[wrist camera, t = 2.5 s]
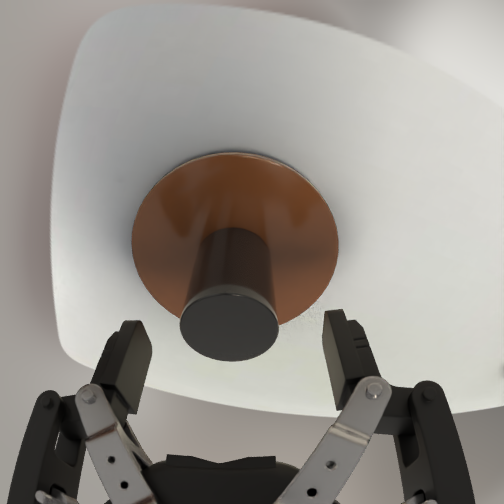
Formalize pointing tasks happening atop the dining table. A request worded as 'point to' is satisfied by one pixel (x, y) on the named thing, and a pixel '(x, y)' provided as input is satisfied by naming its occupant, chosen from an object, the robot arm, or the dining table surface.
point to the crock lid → (234, 250)
